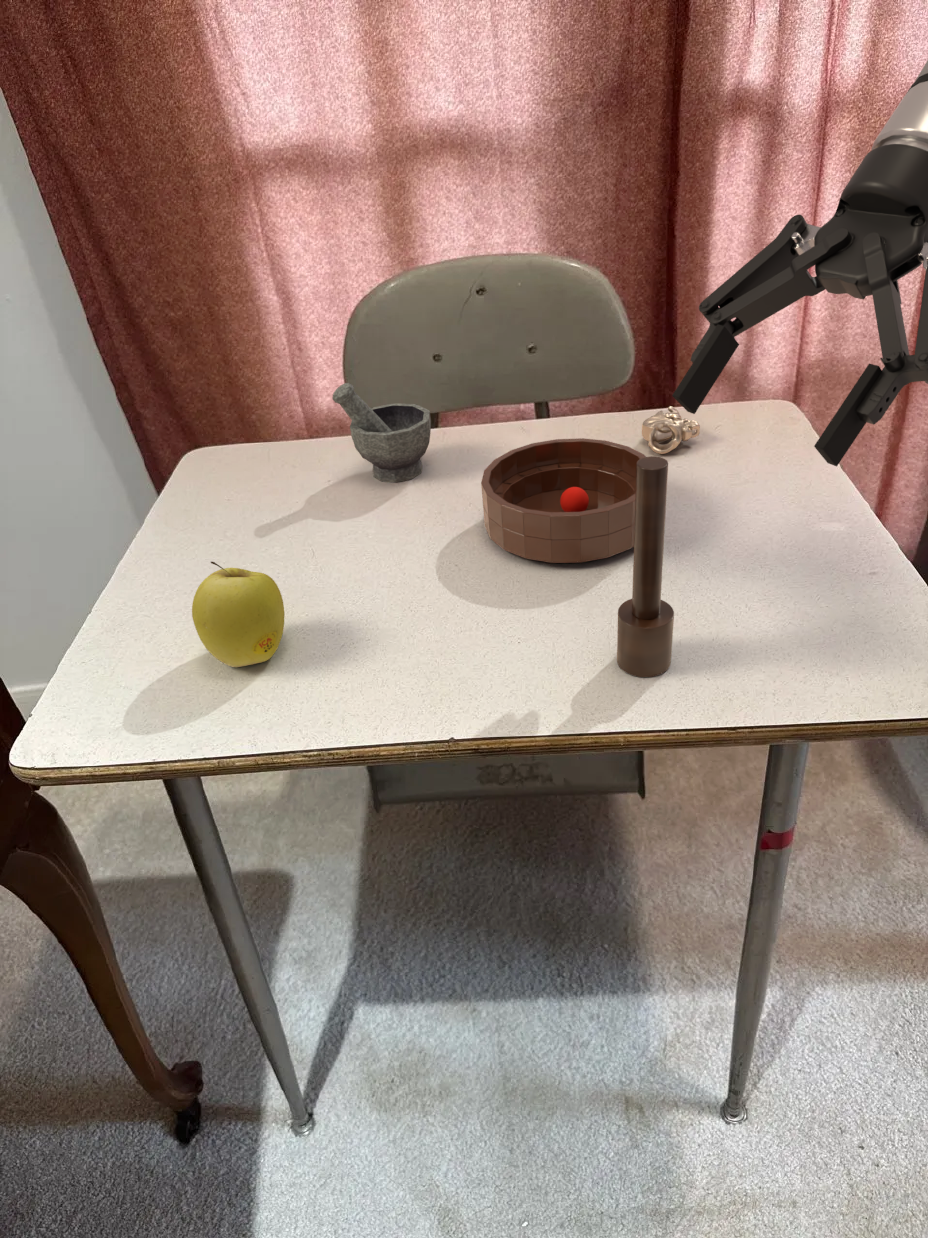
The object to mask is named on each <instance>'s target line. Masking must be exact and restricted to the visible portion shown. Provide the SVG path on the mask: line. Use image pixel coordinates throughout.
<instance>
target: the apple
mask: <svg viewBox="0 0 928 1238" xmlns="http://www.w3.org/2000/svg"><path fill="white" fill-rule="evenodd" d="M210 564H212V565H215V566H217V567H218V568H220V569H219V570H216V571H214V572H212V573H210V574H208V576H207V577H205V578H204V579H203V580H202V582H200V584H199V585H198V587H197V589H196V591H195V594H194V596H193V600H192V603H191V604H192V605H191V617H192V621H193V624H194V627H195V630H196V633H197V636H198V637H199V639H200V641H201V643H202V645H203V646H204V648H205V649H206V650H207V651H208V652H209V653H210V654H211V655H212V657H214V659H216V660H218V661H220V663H221V662H222V663H223V664H225V665H226V666H227V667H231V668H241V667H246V666H253V665H256V664H260V663H264V662H266V661H269V660H271V658H272V657H273V656H274V654H275V652H276V651H277V650H278V648H279V646H280V643H281V640H282V637H283V633H284V629H285V616H286V615H285V603H284V599H283V596H282V592H281V590H280V588H279V586H278V584H277V583H276V581H275V580H274V579H273V578H272V577H271V576H270V575H268V574H266V573H263V572H260V571H252V570H248V569H246V568H245V569H244V568H239V567H226V568H225V567H222V566H220V565H219V564H218V563H217V562H215V561H210Z"/></svg>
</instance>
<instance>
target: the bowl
mask: <svg viewBox="0 0 928 1238" xmlns="http://www.w3.org/2000/svg"><path fill="white" fill-rule="evenodd" d="M644 457H647V455H645V454H644V453H642V452H640V451H638V450H636V449H634V448H633V447H630V446H628V445H625V444H620V443H616V442H613V441H610V440H605V439H603V440H602V439H595V438H583V437H580V438H558V439H557V438H556V439H550V440H544V441H537V442H532V443H529V444H525V445H523V446H519V447H517V448H513V449H511V450H509V451H507V452H505V453H504V454H502V455H500V456H498V457H496V458H495V459H493V460H492V461H491V462H490V463H489V464H488V466H487V467H486V468H485V469H484V470H483V473H482V477H481V482H480V486H481V487H480V488H481V496H482V499H481V500H482V506H483V507H482V508H483V509H482V510H483V520H484V521H483V522H484V528H485V530H486V532H487V534H488V536H489V539H490V540H491V541H492V542H493V543H495V544H496V545H497V546H498V547H500V548H501V549H502V550H504V551H506V552H508V553H511V554H514V555H515V556H518V557H521V558H523V559H526V560H531V561H538V562H546V563H550V564H575V563H576V564H577V563H586V562H590V561H591V562H592V561H598V560H602V559H608V558H611V557H613V556H615V555H618V554H621V553H623V552H627V551H628V550H630V549H632V548H634V528H635V496H636V465H637V461H638V460H639V459H641V458H644ZM570 487H579V488H581V489H583V490H584V491H585V492H586V493H587V495H588V498H589V503H588V507H587V509H586V510H585V511H581V512H565V511H564V510H563V509H562V507H561V504H560V499H561V495H562V494H563V492H564V491H565V490H566V489H568V488H570Z"/></svg>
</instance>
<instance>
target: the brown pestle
mask: <svg viewBox="0 0 928 1238" xmlns="http://www.w3.org/2000/svg"><path fill="white" fill-rule="evenodd" d="M668 475H669V461H668V460H667V459H665V458H663V457H660V456H646V457H644V458H641V459H639V460H638V461H637V465H636V496H635V528H634V547H633V558H632V559H633V560H632V562H633V564H632V565H633V566H632V591H631V594H632V596H631V598H630V599H627V600H625V601H624V602H623V603H621V604H620V606H619V607H618V608H617V609H618V610H617V634H616V635H617V636H616V641H617V642H616V663H617V665H618V667H619V668H620V669H621V670H622V672H624V673H626V674H627V675H630V676H634V677H638V678H653V677H654V678H655V677H658V676H660V675H662V674H664V673H666V672H667V671H668V670H669V669H670V667H671V665H672V652H673V651H672V650H673V637H674V635H673V634H674V624H675V621H674V620H675V611H674V609H673V607H672V606H671V604H670V603H668V602H666V600H663V599H662V584H663V583H662V582H663V566H664V548H665V547H664V546H665V531H666V530H665V528H666V511H667V494H668V493H667V491H668Z"/></svg>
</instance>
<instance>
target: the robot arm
mask: <svg viewBox="0 0 928 1238" xmlns="http://www.w3.org/2000/svg"><path fill="white" fill-rule="evenodd" d="M921 265H922V267H923V270H924V281H923V288H922V295H921V303H920V311H919V318H918V326H917V333H916V341H915V349H914V354H910V350H909V344H908V339H907V332H906V327H905V322H904V317H903V316H904V315H903V311H902V310H903V309H902V304H903V303H902V296H901V291H900V285H899V280H900V279H902V278H903V277H905V276H906V275H908V274H910V273H911V272H913V271H915V270H916V269H918V268H919V267H921ZM813 267H814V273H815V276H812V275H811V273H810V271H809V269H811V268H813ZM825 290H826V292H827V294H829V293H830V294H833V295H845V294H847V295H849V296H851V297H853V298H854V299H859V300H865V299H866V297H870V296H872V301H873V308H874V314H875V319H876V326H877V333H878V337H879V338H878V339H879V345H880V350H881V357H880V358H879V359H880V361H881V362H882V365H883V366H884V367H883V368H881V367H880V365H876V364H874V363H868V365H867V366H866V368H865V369H864V370H863V372H862V373H861V375H860V376H859V378H858V379H857V381H856V383H855V384H854V385H853V386H852V389H851V390H850V391H849V393H848V394H847V396H846V397H845V399H844V400H843V402H842V403H841V405H840V406H839V408H838V410H837V411H836V412H835V414H834V415H833V417H832V418H831V420H830V422H829V423H828V424H827V425H826V427H825V429H824V430H823V432H822V433H821V435H820V436H819V438H818V439H817V441H816V442H815V443H814V445H813V447H814V449H816V451H817V453H818V454H819V455H820V456H821V457H822V458H823V460H824V461H825V462H826V463H827V464H829V465H832V466H834V467H838V465H839V464H840V463H841V461H842V460H843V458H844V456H845V455H846V454H847V452H848V451H849V449H850V448H851V446H852V445H853V444H854V442H855V440H856V439H857V438H858V436H859V434H860V433H861V432H862V430H863V428H864V427H865V426H866V424H867V423H868V424H871V425H876V424H877V423H878V422H879V421H881V420H882V418H883V417H884V415H885V414H886V413H887V411H888V410H889V408H890V406H891V405H892V403H893V402H894V401H895V399H896V398H897V396H898V395H899V394H900V392H901V390H902V389H903V388H904V387H905V386H907V385H909V384H911V383H916V382H918V383H919V382H924V383H925V384H927V385H928V60H926V62H925V64H924V66H923V67H922V69H921V70H920V72H919V74H918V75H917V77H916V79H915V80H914V82H913V83H912V84H911V86H910V87H909V88H908V90H907V92H906V93H905V95H904V96H903V97H902V99H901V101H900V102H899V104H898V105H897V107H896V108H895V109H894V111H893V112H892V114H891V115H890V117H889V118H888V120H887V121H886V123H885V124H884V126H883V127H882V128H881V130H880V132H879V133H878V135H877V136H876V138H875V139H874V141H873V143H872V147H871V150H870V151H869V152H867V154H866V155H865V156H864V157H863V159H862V161H861V162H860V164H859V165H858V167H857V169H856V170H855V171H854V173H853V174H852V176H851V177H850V180H849V181H848V182H847V184H846V185H845V187H844V188H843V190H842V191H841V193H840V197H839V201H838V204H837V207H836V210H835V212H834V215H833V216H832V217H831V218H830V219H829V220H828V221H827V222H826V223H824V224H823V225H822V226H817V225H814V224H810V223H807V221H806V218H805V217H804V216H803V215H802V214H796V215H795V214H794V215H793V216H791V218H790V219H789V220H788V221H787V222H786V224H785V225H784V226H783V228H782V230H781V231H780V232H779V233H778V234H777V236H776V237H775V238H774V239H773V240H772V241H771V242H769V244H768V245H766V246H765V247H763V248H762V249H761V250H760V251H759V252H757V254H756V255H755V256H754V257H752V258H751V259H749V261H747V262H746V263H745V264H744V265H743V266H742V267H741V268H739V269H738V270H737V271H736V272H735V273H733V274H732V275H731V276H730V277H729V278H727V280H725V281H724V282H723V283H722V284H721V285H720V286H719V287H717V288H716V289H715V290H714V291H712V293H710V294H709V295H708V296H706V298H704V299H703V300H702V301H701V302H700V304H699V305H698V311H699V312H700V313H701V314H702V316H703V317H704V318H705V319H706V321H707V322H708V323H709V326H708V328H707V330H706V331H705V333H704V335H703V336H702V338H701V339H700V341H699V342H698V344H697V346H696V348H695V349H694V351H693V352H692V354H691V357H690V362H691V363H692V364H691V365H690V367H689V368H688V370H687V371H686V373H685V375H684V376H683V377H682V379H681V381H680V382H679V384H678V386H677V387H676V388H675V391H674V392H673V393H672V395H671V396H672V398H673V399H675V400H676V401H677V403H679V405H680V406H681V407H682V408H683V409H684V410H686V412H687V413H690V414H693V415H695V414H696V413H697V411H698V409H699V408H700V407H701V405H702V403H703V401H705V398H706V397H707V395H708V394H709V392H710V391H711V389H712V387H713V386H714V385H715V383H716V381H717V380H718V379H719V377H720V375H721V374H722V372H723V371H724V369H725V368H726V366H727V365H728V363H729V362H730V359H731V358H732V357H733V355H734V353H735V352H736V350H737V349H738V347H739V346H740V344H739V342H738V341H737V339H736V337H737V336H739V335H741V334H743V333H744V332H745V331H748V330H749V329H751V328H753V327H754V326H756V325H758V324H760V323H761V322H763V321H764V320H767V319H768V318H770V317H772V316H774V315H775V314H777V313H778V312H780V311H782V310H783V309H785V308H787V307H789V306H791V305H792V304H794V303H795V302H798V301H799V300H801V299H803V298H804V297H814V296H816V295H818V294H820V293H822V292H823V291H825Z"/></svg>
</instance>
